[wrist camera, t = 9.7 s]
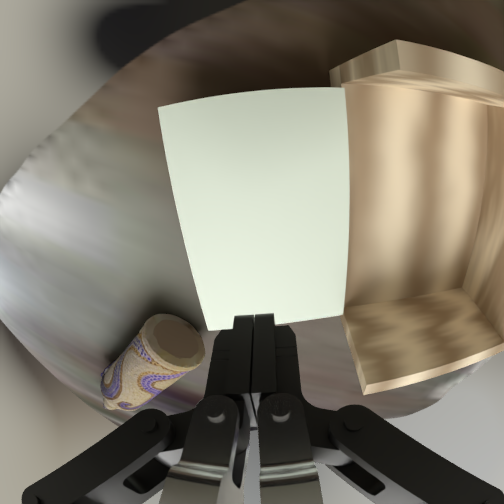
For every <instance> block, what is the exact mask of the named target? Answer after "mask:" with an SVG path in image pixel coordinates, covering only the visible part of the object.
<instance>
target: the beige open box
mask: <svg viewBox="0 0 504 504" xmlns="http://www.w3.org/2000/svg"><path fill="white" fill-rule="evenodd" d="M329 75H330V84H331V87H336V88H344V89H345V99H346V112H347V126H348V145H349V181H350V205H349V242H348V261H347V277H346V289H345V300H344V311H343V315H340V318H341V321H342V325H343V328H344V331H345V334H346V337H347V340H348V344H349V347H350V350H351V353H352V357H353V360H354V364H355V367H356V370H357V374H358V377H359V381H360V385H361V388H362V392H363V395H366V394H371V393H376V392H380V391H385V390H389V389H393V388H397V387H401V386H405V385H409V384H413V383H416V382H420V381H423V380H427V379H430V378H433V377H436V376H439V375H442V374H445V373H448V372H451V371H454V370H457V369H460V368H463V367H465V366H468V365H471V364H473V363H476V362H478V361H481V360H483V359H485V358H488V357H490V356H493V355H495V354H497V353H499V352H502V351H503V350H504V72H503V71H501V70H499V69H496V68H494V67H492V66H489V65H487V64H484V63H481V62H479V61H476V60H473V59H470V58H467V57H464V56H461V55H458V54H455V53H452V52H448V51H445V50H441V49H437V48H434V47H430V46H426V45H421V44H417V43H412V42H407V41H402V40H393V41H391V42H389V43H386V44H384V45H382V46H379V47H377V48H375V49H372V50H370V51H368V52H366V53H364V54H362V55H359V56H357V57H355V58H353V59H351V60H349V61H347V62H345V63H343V64H341V65H339V66H337V67H335V68H333V69H331V70H329Z"/></svg>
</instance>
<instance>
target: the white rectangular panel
mask: <svg viewBox="0 0 504 504" xmlns="http://www.w3.org/2000/svg"><path fill="white" fill-rule="evenodd" d="M158 112H159V119H160V125H161V131H162V137H163V142H164V148H165V153H166V159H167V164H168V169H169V174H170V179H171V184H172V189H173V194H174V199H175V203H176V208H177V212H178V217H179V221H180V225H181V230H182V234H183V238H184V242H185V246H186V251H187V255H188V259H189V263H190V266H191V270H192V274H193V278H194V282H195V285H196V289H197V293H198V296H199V300H200V304H201V307H202V311H203V314H204V318H205V321H206V324H207V328H208V331H210V330H222V329H233V322H234V316H237V315H254V317H255V314H267V313H274V318H275V324H282V323H290V322H297V321H304V320H312V319H318V318H325V317H331V316H338V315H343V311H344V300H345V289H346V277H347V261H348V242H349V205H350V181H349V145H348V126H347V112H346V99H345V89H344V88H336V87H315V88H287V89H272V90H260V91H250V92H241V93H234V94H226V95H219V96H213V97H207V98H201V99H196V100H191V101H185V102H181V103H176V104H171V105H167V106H163V107H158Z"/></svg>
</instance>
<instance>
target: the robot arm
mask: <svg viewBox="0 0 504 504" xmlns="http://www.w3.org/2000/svg"><path fill="white" fill-rule="evenodd" d="M257 423H258V439H259V454H260V498H261V504H323V499H322V493H321V487H320V481H319V476H318V472H317V469H316V466H315V465H314V462H315V463H321V464H325V465H326V466H327V467H328V468H329V469H331V470H332V471H333V472H334V473H336V474H337V475H338V476H339V477H341V478H342V479H343V480H344V481H346V482H347V483H348V484H349V485H351V486H352V487H353V488H355V489H356V490H357V491H359V492H360V493H361V494H363V495H364V496H365V497H367V498H368V499H369V500H371V501H372V502H374V503H375V504H504V494H503V492H502V491H501V490H500V489H498V488H496V487H494V486H492V485H490V484H489V483H487V482H485V481H483V480H481V479H479V478H477V477H476V476H474V475H472V474H470V473H468V472H467V471H465V470H463V469H461V468H460V467H458V466H456V465H455V464H453V463H451V462H450V461H448V460H446V459H445V458H443V457H441V456H440V455H438V454H436V453H435V452H433V451H432V450H430V449H428V448H427V447H425V446H424V445H422V444H421V443H419V442H417V441H416V440H414V439H413V438H411V437H410V436H408V435H407V434H405V433H403V432H402V431H400V430H399V429H398V428H396V427H394V426H393V425H392V424H390V423H389V422H387V421H386V420H384V419H383V418H381V417H380V416H378V415H377V414H375V413H374V412H373V411H371V410H370V409H368V408H366V407H364V406H361V405H348V406H345V407H342V408H340V409H339V410H338V411H333V410H326V409H321V408H317V407H315V406H313V405H311V404H310V403H308V402H307V401H306V400H305V398H304V397H303V395H302V392H301V384H300V373H299V364H298V354H297V345H296V336H295V333H294V332H293V331H292V329H291V328H290V327H289V325H287V326H275V318H274V313H267V314H255V317H254V315H237V316H234V322H233V329H222V330H221V331H220V333H219V334H218V335H217V337H216V338H215V340H214V346H213V352H212V357H211V362H210V368H209V373H208V379H207V385H206V390H205V395H204V398H203V399H202V400H201V401H199V402H198V404H197V405H196V406H195V408H194V409H192V410H190V411H187V412H184V413H179V414H174V415H169V416H166V414H165V413H163V412H162V411H160V410H157V409H145V410H142V411H140V412H139V413H137V414H136V415H134V416H133V417H132V418H130V419H129V420H128V421H126V422H125V423H124V424H122V425H121V426H120V427H118V428H117V429H115V430H114V431H113V432H111V433H110V434H109V435H107V436H106V437H104V438H103V439H101V440H100V441H99V442H97V443H96V444H94V445H93V446H91V447H90V448H88V449H87V450H85V451H84V452H83V453H81V454H80V455H78V456H77V457H75V458H73V459H72V460H70V461H69V462H67V463H66V464H64V465H63V466H61V467H60V468H58V469H57V470H55V471H53V472H52V473H50V474H49V475H47V476H45V477H44V478H42V479H40V480H39V481H37V482H36V483H34V484H32V485H31V486H29V487H27V488H26V489H25V490H24V492H23V494H22V504H142V503H144V502H145V501H147V500H148V499H149V498H151V497H152V496H154V495H155V494H156V493H158V492H159V491H160V490H162V489H163V491H162V494H161V498H160V501H159V504H244V493H243V489H244V488H243V487H244V481H245V474H246V467H247V460H248V453H249V446H250V444H249V440H250V426H257Z"/></svg>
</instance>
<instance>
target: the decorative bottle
mask: <svg viewBox="0 0 504 504" xmlns="http://www.w3.org/2000/svg"><path fill="white" fill-rule="evenodd" d="M204 357H205V348H204V344H203V341H202V338H201V336H200V335H199V334H198V333H197V331H196V329H195V328H194V327H193V326H192V325H191V324H189V323H188V322H186V321H185V320H183V319H181V318H179V317H177V316H175V315H171V314H156V315H154V316H152V317H151V318H149V319H148V320H147V321H146V322H145V324H144V326H143V327H142V329H141V330H140V331H139V334H138V335H137V336H136V337H135V338H134V339H133V340H132V342H131V343H130V344H129V345H128V347H127V348H126V350H125V351H124V352H123V353H122V354H121V355H120V357H119V358H118V359H117V360H115V361H114V362H113V363H112V364H110V365H109V366H108V367H107V368H105V370H104V372H103V373H101V376H102V375H104V376H102V381H101V392H102V394H103V396H104V399H103V406H104V408H106V409H110V410H114V409H116V408H118V409H121V410H126V411H131V410H137V409H138V408H140V407H141V406H143V405H145V404H146V403H147V402H149V401H150V400H151V399H152V398H154V397H155V396H156V395H158V394H160V393H161V392H162V391H163V390H164V389H166V388H167V387H168V386H170V385H171V384H173V383H174V382H175V381H177V380H178V379H179V378H181V377H182V376H183V375H185V374H186V373H187V372H188V371H190V370H193V369H195V368H196V367H197V366H199V364H201V363H202V360H203V358H204ZM104 373H106V374H104Z"/></svg>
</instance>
